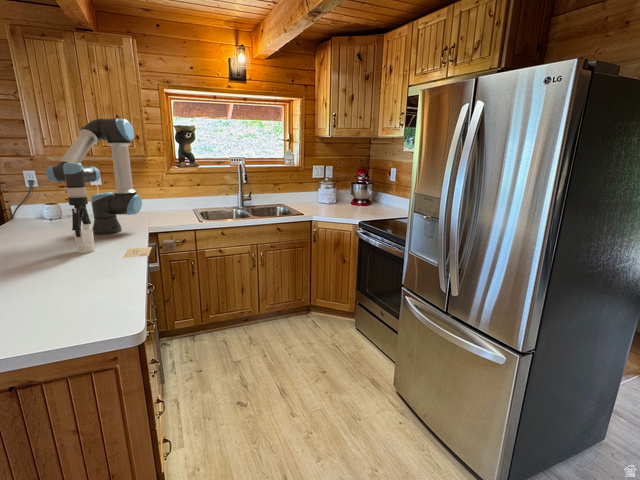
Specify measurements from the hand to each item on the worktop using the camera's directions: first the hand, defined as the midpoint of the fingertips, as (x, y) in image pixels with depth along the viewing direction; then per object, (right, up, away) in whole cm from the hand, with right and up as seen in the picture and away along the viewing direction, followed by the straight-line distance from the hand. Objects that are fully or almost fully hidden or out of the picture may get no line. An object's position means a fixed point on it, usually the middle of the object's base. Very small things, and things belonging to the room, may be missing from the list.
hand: (84, 240), depth 175 cm
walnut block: (+40, -5, +4) cm, 40 cm away
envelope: (+26, -6, 0) cm, 27 cm away
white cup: (0, -6, +2) cm, 6 cm away
